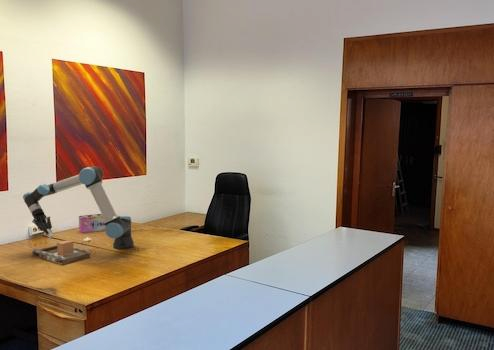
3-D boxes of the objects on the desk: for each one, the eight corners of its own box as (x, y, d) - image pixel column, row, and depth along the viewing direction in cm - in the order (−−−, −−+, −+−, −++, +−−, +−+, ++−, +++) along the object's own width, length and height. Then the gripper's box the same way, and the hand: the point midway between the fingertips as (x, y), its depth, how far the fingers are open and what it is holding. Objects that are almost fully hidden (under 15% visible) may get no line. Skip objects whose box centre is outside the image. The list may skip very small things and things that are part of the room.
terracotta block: (73, 252, 294) (73, 241, 294) (63, 255, 288) (62, 243, 287) (68, 251, 298) (67, 240, 297) (57, 254, 291) (57, 242, 290)
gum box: (107, 228, 383) (106, 213, 382) (109, 229, 377) (109, 214, 375) (79, 231, 370) (78, 215, 368) (81, 233, 363) (80, 217, 362)
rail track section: (89, 257, 295) (89, 250, 294) (63, 264, 278) (63, 257, 278) (58, 249, 314) (58, 243, 313) (32, 255, 297) (32, 249, 297)
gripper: (43, 213, 315) (57, 238, 307) (25, 215, 304) (40, 242, 297) (47, 206, 311) (62, 232, 304) (29, 209, 300) (44, 236, 293)
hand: (51, 237), depth 300 cm, fingers closed
